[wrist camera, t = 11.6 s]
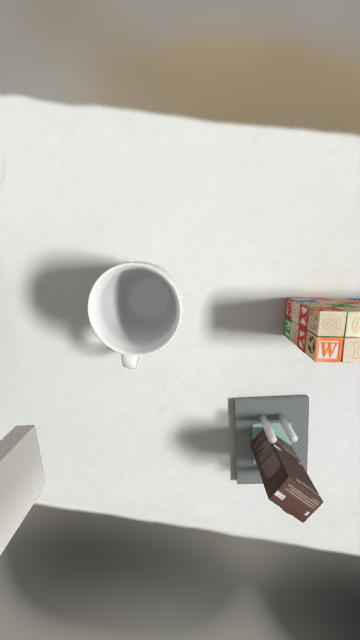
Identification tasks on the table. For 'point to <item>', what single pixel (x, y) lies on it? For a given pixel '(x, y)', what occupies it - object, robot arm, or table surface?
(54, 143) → the table surface
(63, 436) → the table surface
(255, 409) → the grey pegged stand
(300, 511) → the box
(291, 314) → the stack of blocks
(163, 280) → the mug
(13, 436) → the robot arm
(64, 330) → the table surface
